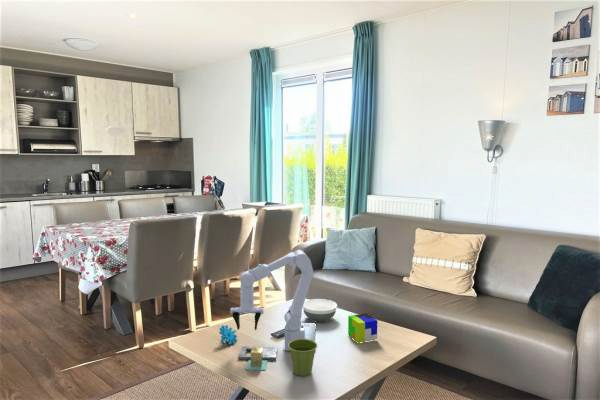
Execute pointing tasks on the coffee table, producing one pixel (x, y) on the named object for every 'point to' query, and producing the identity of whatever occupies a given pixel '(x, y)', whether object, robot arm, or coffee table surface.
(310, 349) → the plant pot
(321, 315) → the bowl
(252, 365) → the brass block
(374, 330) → the puzzle toy
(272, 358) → the rail plate
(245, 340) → the coffee table surface
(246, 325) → the coffee table surface
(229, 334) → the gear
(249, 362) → the teal mat
